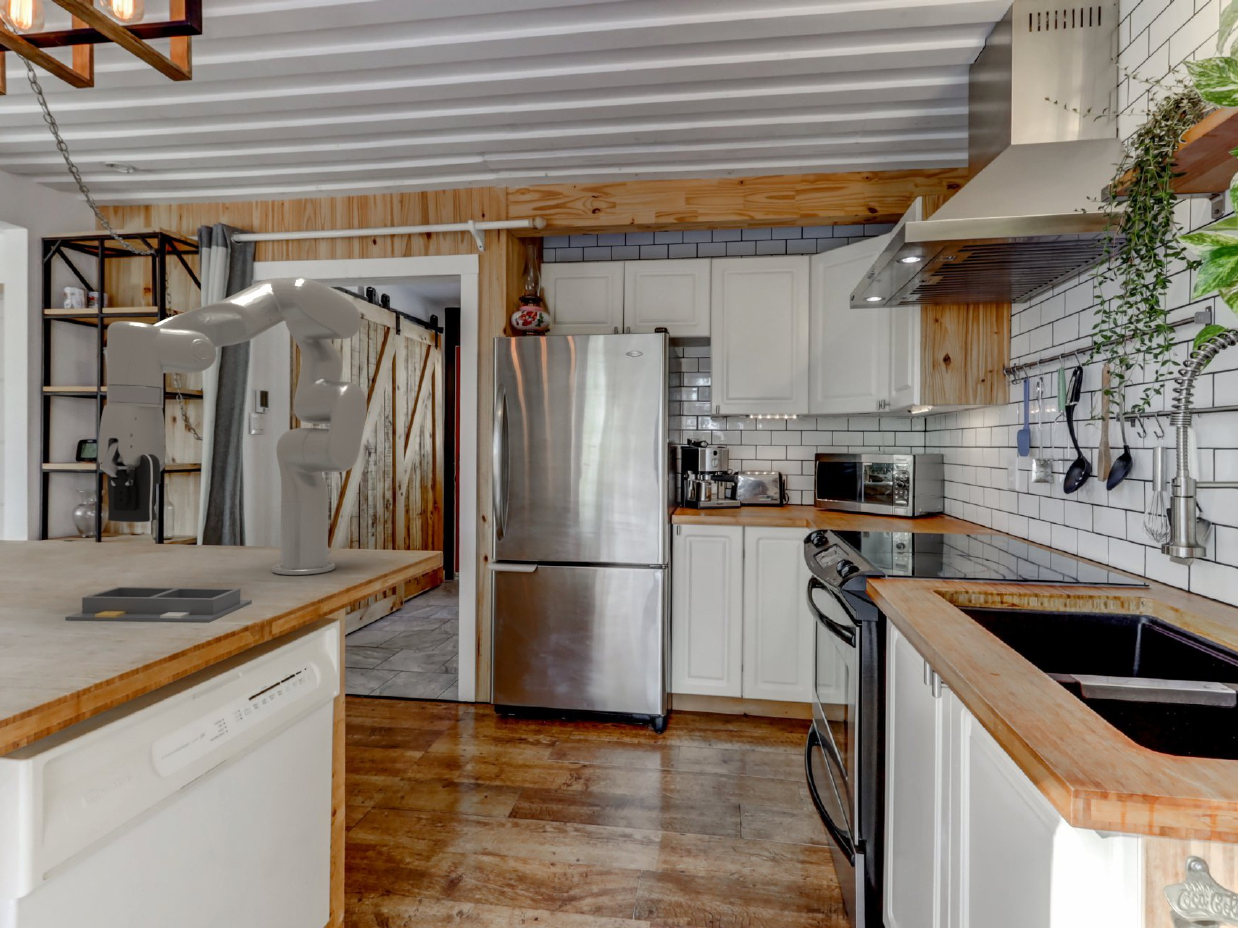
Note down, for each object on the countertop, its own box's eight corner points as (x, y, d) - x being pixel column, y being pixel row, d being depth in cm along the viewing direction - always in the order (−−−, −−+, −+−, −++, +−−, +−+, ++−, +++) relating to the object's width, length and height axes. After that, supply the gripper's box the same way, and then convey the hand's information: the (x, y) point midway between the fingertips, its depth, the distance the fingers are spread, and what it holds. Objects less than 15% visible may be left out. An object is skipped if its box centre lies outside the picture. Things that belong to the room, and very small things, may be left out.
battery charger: (164, 520, 112) (164, 453, 112) (148, 523, 109) (148, 453, 108) (123, 519, 112) (123, 452, 112) (105, 522, 109) (105, 452, 108)
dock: (124, 600, 117) (124, 583, 117) (251, 602, 118) (251, 585, 118) (65, 620, 104) (65, 601, 104) (209, 622, 105) (209, 603, 105)
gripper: (146, 401, 118) (145, 504, 118) (72, 393, 101) (72, 513, 102) (189, 402, 118) (188, 505, 119) (123, 395, 102) (122, 514, 102)
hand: (135, 507), depth 110 cm, fingers closed on battery charger, 3 cm apart
